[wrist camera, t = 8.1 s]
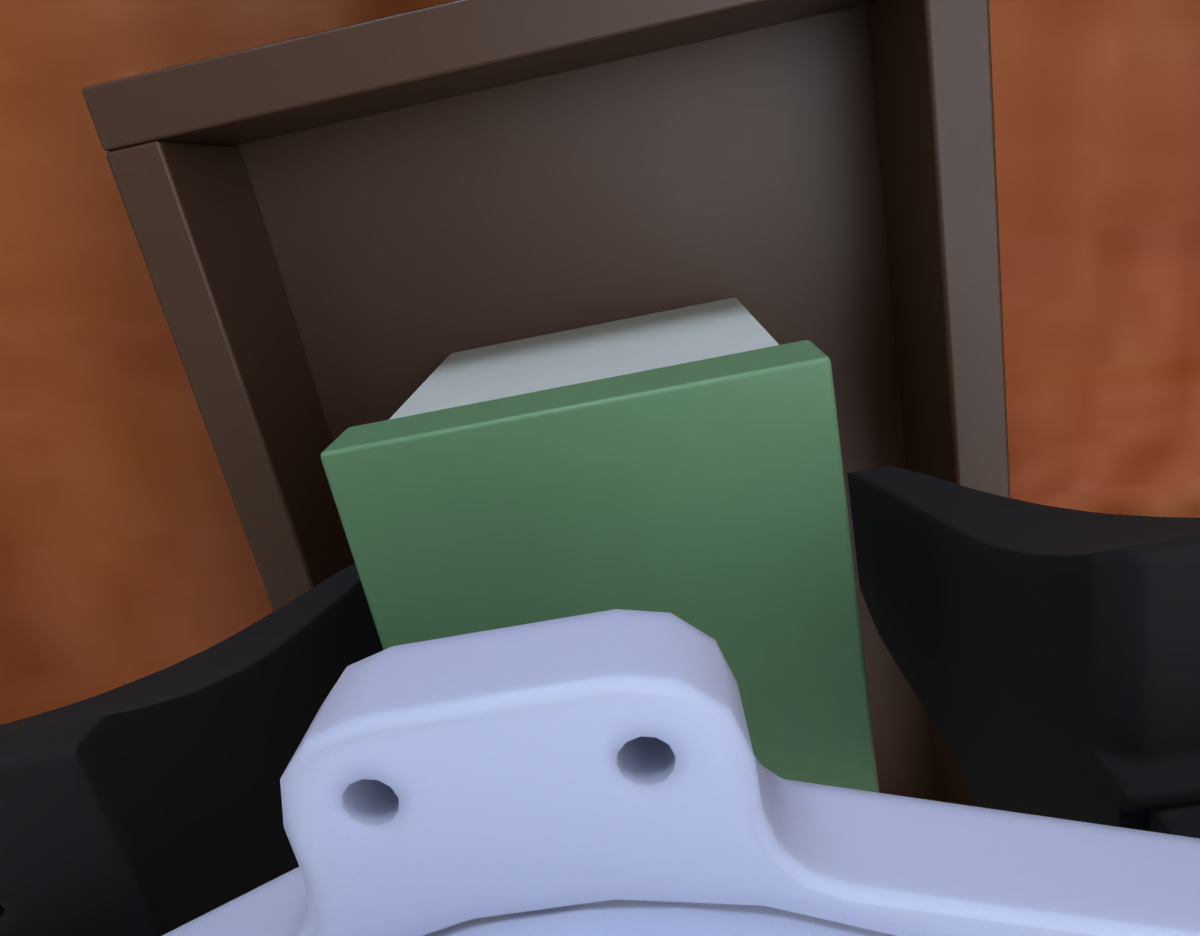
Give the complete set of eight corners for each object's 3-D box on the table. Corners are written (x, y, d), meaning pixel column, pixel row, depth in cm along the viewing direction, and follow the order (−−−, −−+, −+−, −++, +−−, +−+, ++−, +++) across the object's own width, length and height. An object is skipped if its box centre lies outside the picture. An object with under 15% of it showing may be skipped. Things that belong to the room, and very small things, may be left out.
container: (799, 659, 16) (894, 917, 11) (531, 702, 17) (486, 969, 11) (746, 282, 14) (832, 356, 8) (435, 344, 14) (317, 454, 9)
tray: (964, 806, 18) (1030, 927, 15) (448, 878, 19) (417, 1005, 16) (902, -58, 13) (985, -125, 10) (193, 105, 14) (78, 87, 11)
